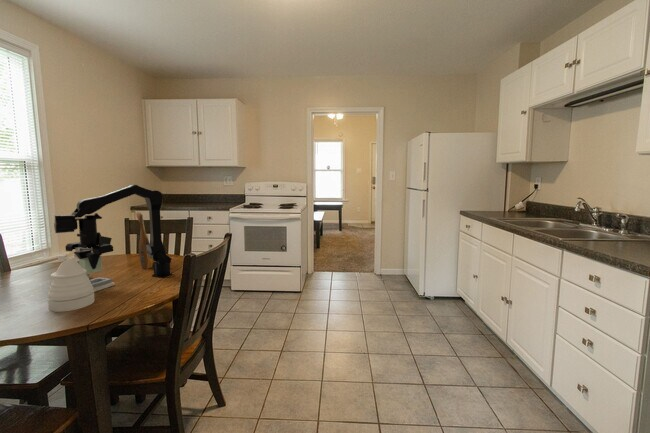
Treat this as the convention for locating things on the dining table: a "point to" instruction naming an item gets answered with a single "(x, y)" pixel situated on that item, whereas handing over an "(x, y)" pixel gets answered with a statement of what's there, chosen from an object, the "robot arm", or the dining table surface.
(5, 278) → the dining table surface
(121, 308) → the dining table surface
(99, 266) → the pale green block
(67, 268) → the honey pot
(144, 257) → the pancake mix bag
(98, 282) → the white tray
